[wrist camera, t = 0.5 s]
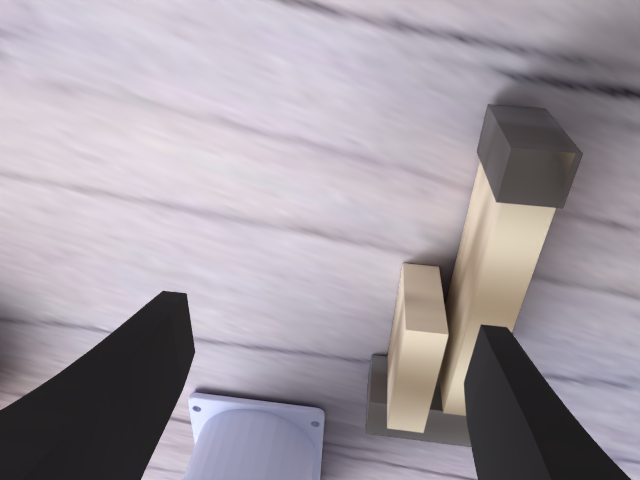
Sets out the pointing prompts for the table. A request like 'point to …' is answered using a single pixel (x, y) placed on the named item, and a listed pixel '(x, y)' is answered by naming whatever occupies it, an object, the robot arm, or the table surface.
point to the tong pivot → (414, 367)
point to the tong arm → (503, 230)
